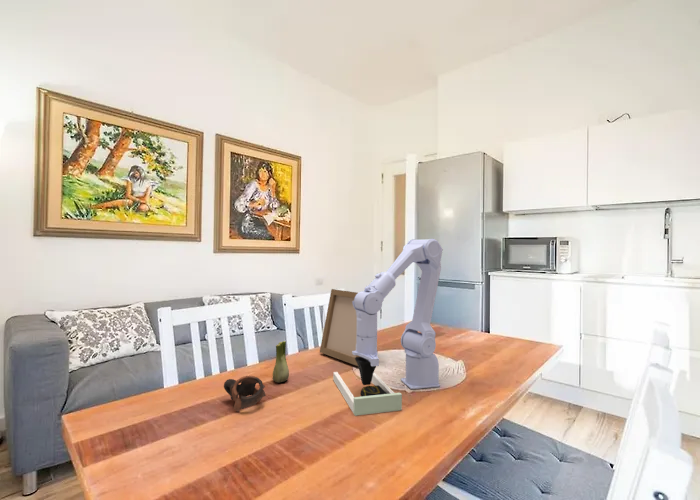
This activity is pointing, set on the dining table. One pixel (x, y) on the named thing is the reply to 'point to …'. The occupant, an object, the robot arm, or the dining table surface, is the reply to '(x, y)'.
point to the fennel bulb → (280, 364)
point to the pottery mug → (244, 391)
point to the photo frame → (340, 327)
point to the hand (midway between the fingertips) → (366, 384)
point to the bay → (370, 398)
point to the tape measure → (372, 391)
